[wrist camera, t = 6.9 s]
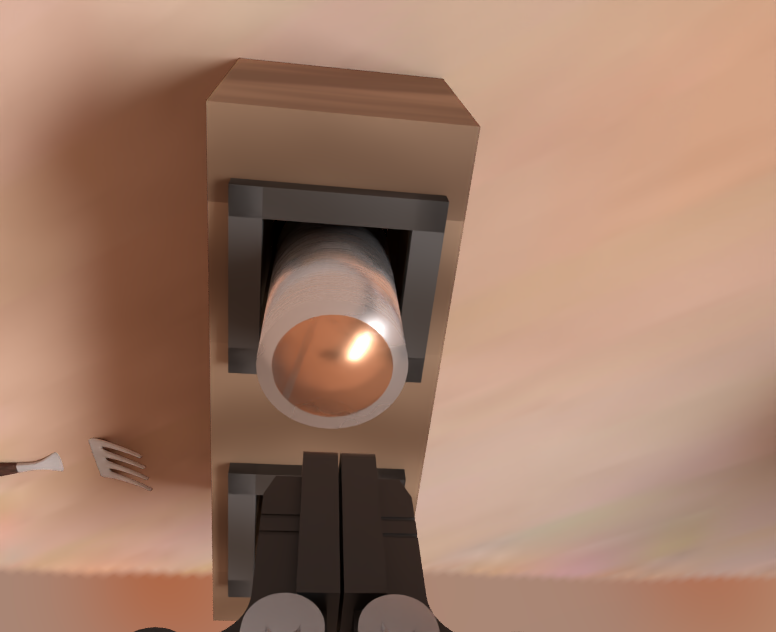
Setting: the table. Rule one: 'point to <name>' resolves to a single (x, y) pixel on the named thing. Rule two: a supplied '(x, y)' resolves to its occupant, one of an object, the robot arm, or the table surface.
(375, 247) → the peg
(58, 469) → the fork
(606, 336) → the table surface
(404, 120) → the walnut bar
